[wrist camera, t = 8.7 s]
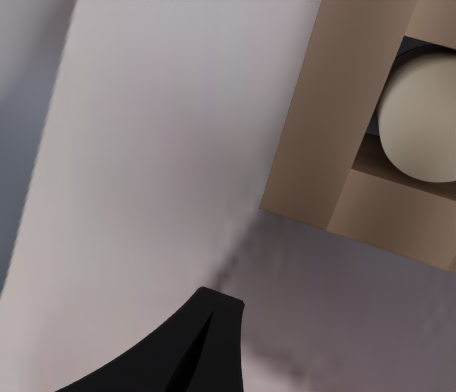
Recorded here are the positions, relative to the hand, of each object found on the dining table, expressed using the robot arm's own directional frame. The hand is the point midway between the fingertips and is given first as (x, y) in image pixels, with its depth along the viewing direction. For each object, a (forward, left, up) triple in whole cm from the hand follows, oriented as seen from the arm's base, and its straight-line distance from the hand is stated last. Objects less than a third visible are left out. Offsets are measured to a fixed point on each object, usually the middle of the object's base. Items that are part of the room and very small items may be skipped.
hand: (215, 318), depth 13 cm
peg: (-5, -6, -10) cm, 13 cm away
